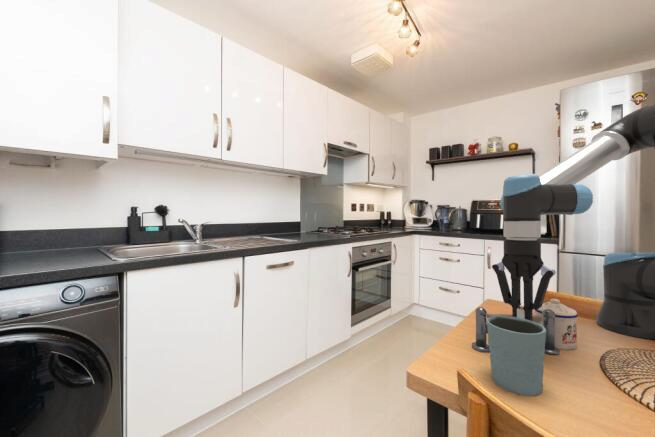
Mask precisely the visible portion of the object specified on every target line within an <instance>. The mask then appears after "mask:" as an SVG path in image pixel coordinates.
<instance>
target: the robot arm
mask: <svg viewBox="0 0 655 437" xmlns="http://www.w3.org/2000/svg"><path fill="white" fill-rule="evenodd" d="M652 148H654V151H655V103H653V104H650V105H646V106H644V107H641V108H638V109H636V110H634V111H632V112H630V113H628V114H626V115H624V116H622V117H621V118H620V119H618V120H617V121H614V122H613V123H612V124H610V125H608V126H607V127H606V128H604V129H602V130H600V132H597V133H596V134H595V135H594V136H593V137H592V138H591V141H590V142H589V143H588V144H586V145H585V146H583V147H581V148H580V149H579V150H577V151H575V152H574V153H572V154H571V155H569V156H568V157H566V158H564V159H563V160H561V161H560V162H558V163H557V164H555V165H554V166H552V167H550V168H549V169H548V170H546V171H545V172H543V173H541V174H540V175H536V174H520V175H519V174H518V175H512V176H509V177H506V178H505V179H504V181H503V186H502V196H501V197H500V201H499V204H500V205H499V206H500V208H501V210H502V212H503V214H502V215H503V216H502V217H503V237H505V239H504V240H503V256H502V258H501V261H500V262H498V263H495V264H492V265H491V268H492V270H493V272H495V274H496V277H497V281H498V286H499V289H500V293H501V296H502V300H503V303H504V304H508V305H509V306H511V307H512V314H511V315H512V317H517V318H522V319H527V320H530V321H532V315H533V310H535V309H536V310H537V309H539V308H540V307H542V304H543V303H544V300H545V298H546V294H547V291H548V287H549V285H550V280H551V279H552V278H553V277H554V276H555V275H556V274H557V273H556V270H555V269H551V268H549V267H548V266H546V265H545V264H544V263H545V262H544V261H543V259H542V242H541V241H540V240H539V239H540V238H541V237H542V234H541V233H542V232H541V231H542V228H541V227H542V226H541V222H542V221H541V217H542V215H543V216H546V215H547V216H550V215H552V216H553V215H568V216H572V215H580V214H583V213H586V212H587V211H589V209H590V208H591V207H592V205H593V203H594V201H593V200H594V197H593V196H594V195H593V192H592V190H591V189H590V188H589V187H588V186H587V185H584V184H580V183H579V182H581V181H583V180H584V179H586V178H587V177H588V176H591V175H592V174H593V173H595V172H596V171H598V170H599V169H601V168H603V167H604V166H606V165H607V164H609V163H611V162H612V161H619V160H621V159H623V158H625V157H627V156H628V155H630V154H632V153H635V152H639V151H643V150H647V149H652ZM578 183H579V184H578ZM505 270H507V272H508V273H509V274H510V280H511V290H510V286H509V281H508V279H507V275H506V271H505ZM539 271H541V272H540V276H541V278H540V281H539V284H538V288H537V291H536V294H535V298H534V276H536V275H537V274H538V272H539ZM521 279H522V281H523V282H522V283H523V306H521V305H522V302H521V296H522V294H521ZM603 292H604V293H603V301H602V304H601V306H600V309H599V310H598V313H597V314H596V325H599V326H600V327H602V328H604V329H606V330H609V331H611V332H615V333H619V334H622V335H626V336H632V337H635V338H642V339H648V340H649V339H650V340H651V339H652V340H655V252H610V253H607V254H606V255H605V256H604V260H603Z"/></svg>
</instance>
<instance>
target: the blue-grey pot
mask: <svg viewBox="0 0 655 437" xmlns="http://www.w3.org/2000/svg"><path fill="white" fill-rule="evenodd" d="M486 323H487V329H488V334H487V337H488V338H487V342H488V341H489V344H488V345H489V350H490V352H489V361H490V368H491V369H490V371H491V380H492V381H493V382H494V383H495V384H496V385H497V386H499V387H500V388H502V389H504V390H506V391H508V392H511V393H513V394H517V395H521V396H527V397H536V396H539V395H541V394H542V393H543V388H544V384H543V381H544V380H543V379H544V370H545V369H544V368H545V367H544V362H545V354H546V353H545V340H546V329H545V328H544V327H543V326H542V325H541V324H538V323H536V322H533V321H530V320H527V319H522V318H517V317H510V316H492V317H489V318H486Z"/></svg>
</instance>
